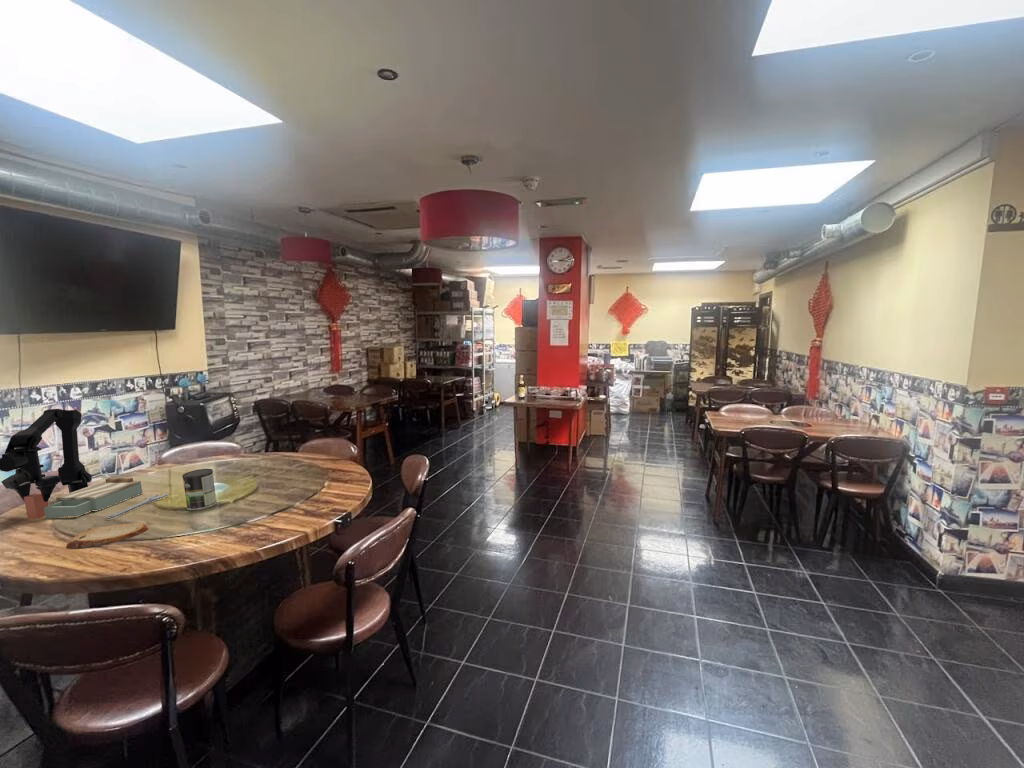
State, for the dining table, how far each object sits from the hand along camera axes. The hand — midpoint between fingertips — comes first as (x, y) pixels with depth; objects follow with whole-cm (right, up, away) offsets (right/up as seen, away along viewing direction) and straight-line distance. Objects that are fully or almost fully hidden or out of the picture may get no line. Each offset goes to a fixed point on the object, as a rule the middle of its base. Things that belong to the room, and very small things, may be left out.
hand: (36, 501), depth 179 cm
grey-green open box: (+14, -4, +10) cm, 18 cm away
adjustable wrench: (+36, -4, +5) cm, 37 cm away
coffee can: (+65, -3, +3) cm, 65 cm away
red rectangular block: (0, -6, +1) cm, 6 cm away
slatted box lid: (+14, +1, +12) cm, 19 cm away
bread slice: (+50, -7, -23) cm, 56 cm away
